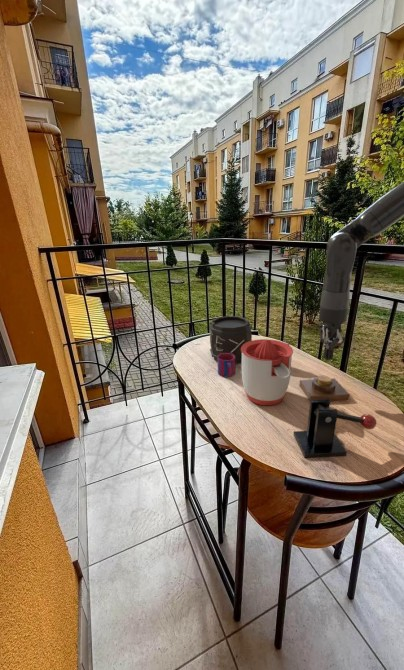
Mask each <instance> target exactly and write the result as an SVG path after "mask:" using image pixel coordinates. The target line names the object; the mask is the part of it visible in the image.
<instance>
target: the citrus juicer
mask: <svg viewBox="0 0 404 670" xmlns="http://www.w3.org/2000/svg"><path fill="white" fill-rule="evenodd" d="M286 343H287V342H283V341H280V340H277V339H276V340H275V339H268V338H267V339H266V338H265V339H264V338H263V339H252V341H249V342H247V343H245V344H243V345H242V347H241V351H242V362H241V381H242V386H243V390H244V393H245V395H246V397H247V398H248V400H249V401H251V402H253V403H254V404H256V405H260V406H273V405H277V404H279V403H281V402H282V401H283V399H284V397H285V396H286V393H287V390H288V388H289V385H290V381H291V370H292V359H293V354H294V349H293V348H292V347H291V345H290V344H289V345H288V344H286Z"/></svg>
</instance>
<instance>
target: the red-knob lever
mask: <svg viewBox="0 0 404 670" xmlns="http://www.w3.org/2000/svg"><path fill="white" fill-rule="evenodd" d="M330 409H331V408H330V406H329V407H328V406H324V405H319V404H318V405H317V407H316V409H315V411H314V413H315V415H316V416H317V410H330ZM337 419H340V420H344V421H349V422H354V423H357V424H360V426H361V427H362V428H363V429H365V430H373V429H375V428H376V427H377V419H376V418H375V416H373V415H372V414H369V413H364V414H362V415H361V416H357V415H353V414H347V413H343V412H339V411H338V414H337Z"/></svg>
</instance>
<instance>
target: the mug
mask: <svg viewBox="0 0 404 670" xmlns="http://www.w3.org/2000/svg"><path fill="white" fill-rule="evenodd" d="M216 362H217V374H218V375H219V376H220V377H223V378H229V377H233V376H234V375H236V364H235V355H233V354H231V353H222V354H219V355H218V356H217V361H216Z"/></svg>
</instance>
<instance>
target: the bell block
mask: <svg viewBox="0 0 404 670" xmlns="http://www.w3.org/2000/svg"><path fill="white" fill-rule="evenodd" d="M330 378H331V385H329V386H323V385H320V384H318V383H317V381H318V376H316V377H314V378H313V379H312V378H311V379H300V380H299V387H300V389H301V390H302V392H303V393H304V395H305V396H306V398H307V399H308V401H309V402H310V401H311V400H324V399H328V400H329V401H330V402H340V401H341V402H342V401H343V402H344V401H350V393H349V392H348V391H347V389H345V388H344V386H342V385H341V384H340V382H338V380H336V378H332V377H330Z"/></svg>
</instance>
